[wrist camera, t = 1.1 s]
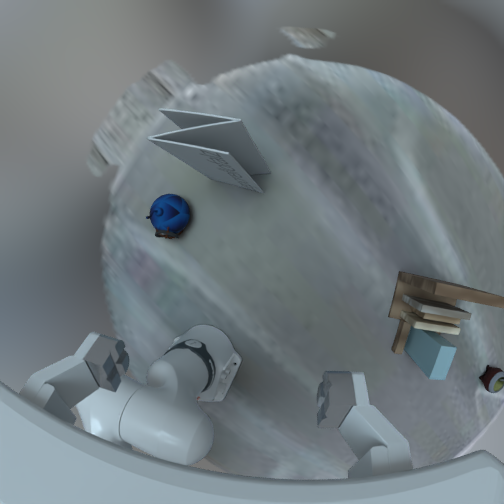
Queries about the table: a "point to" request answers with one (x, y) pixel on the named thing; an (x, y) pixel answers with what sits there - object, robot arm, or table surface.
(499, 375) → the mate gourd
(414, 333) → the light blue tall block
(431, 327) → the offcut stack
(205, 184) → the table surface
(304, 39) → the table surface
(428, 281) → the offcut rack
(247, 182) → the brochure
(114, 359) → the robot arm
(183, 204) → the bomb
